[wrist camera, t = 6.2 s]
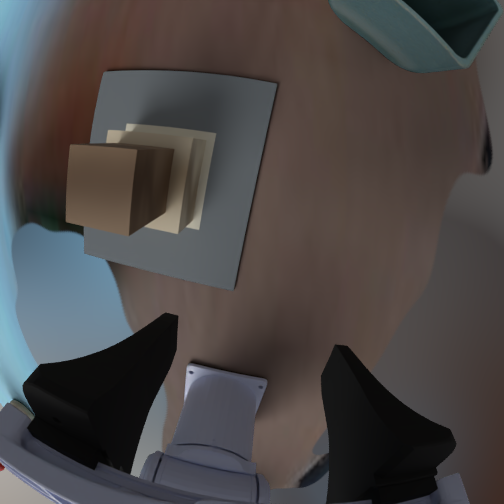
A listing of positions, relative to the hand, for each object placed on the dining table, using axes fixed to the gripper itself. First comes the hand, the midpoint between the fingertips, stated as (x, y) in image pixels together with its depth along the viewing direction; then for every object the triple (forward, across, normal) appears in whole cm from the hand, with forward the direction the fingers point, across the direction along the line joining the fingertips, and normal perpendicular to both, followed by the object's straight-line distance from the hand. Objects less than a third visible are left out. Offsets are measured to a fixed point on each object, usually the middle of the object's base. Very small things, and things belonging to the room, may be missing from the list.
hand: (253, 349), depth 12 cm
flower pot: (+10, -6, -21) cm, 24 cm away
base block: (+10, +9, -6) cm, 14 cm away
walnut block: (+6, +9, -6) cm, 12 cm away
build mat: (+10, +9, -5) cm, 14 cm away
